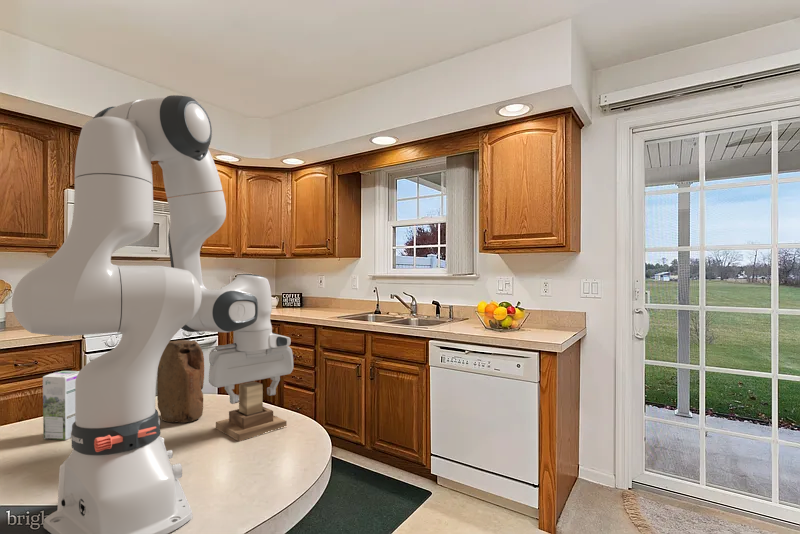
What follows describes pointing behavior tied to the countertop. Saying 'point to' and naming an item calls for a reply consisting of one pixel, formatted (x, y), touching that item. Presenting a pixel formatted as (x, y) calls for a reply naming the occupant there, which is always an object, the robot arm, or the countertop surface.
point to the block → (181, 382)
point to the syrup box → (59, 404)
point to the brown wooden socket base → (249, 424)
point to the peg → (250, 398)
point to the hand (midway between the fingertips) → (253, 398)
